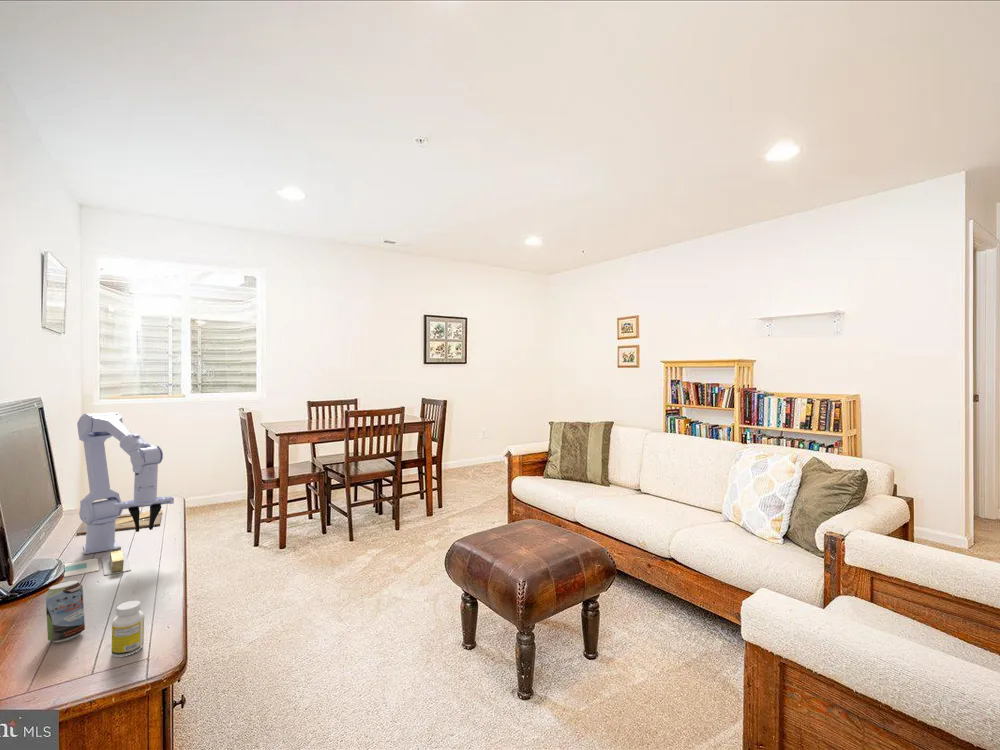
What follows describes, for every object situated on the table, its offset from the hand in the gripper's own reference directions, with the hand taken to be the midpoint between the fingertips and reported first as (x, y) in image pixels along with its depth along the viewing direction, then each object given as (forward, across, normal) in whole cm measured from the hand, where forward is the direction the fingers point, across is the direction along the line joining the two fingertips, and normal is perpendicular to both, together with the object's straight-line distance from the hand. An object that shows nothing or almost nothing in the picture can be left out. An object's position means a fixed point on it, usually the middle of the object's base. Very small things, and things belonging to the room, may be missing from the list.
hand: (144, 529), depth 147 cm
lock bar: (+9, -7, -2) cm, 11 cm away
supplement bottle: (+10, -8, -55) cm, 56 cm away
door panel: (+9, -11, +1) cm, 14 cm away
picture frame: (+10, -2, +46) cm, 47 cm away
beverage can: (+10, -18, -41) cm, 46 cm away
